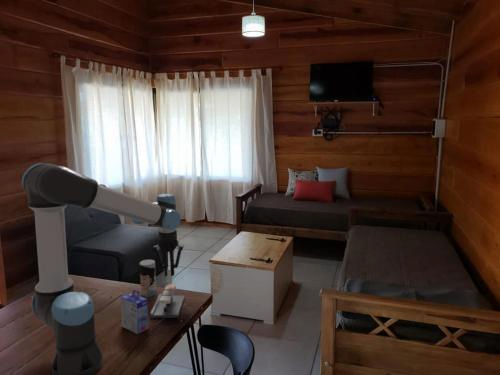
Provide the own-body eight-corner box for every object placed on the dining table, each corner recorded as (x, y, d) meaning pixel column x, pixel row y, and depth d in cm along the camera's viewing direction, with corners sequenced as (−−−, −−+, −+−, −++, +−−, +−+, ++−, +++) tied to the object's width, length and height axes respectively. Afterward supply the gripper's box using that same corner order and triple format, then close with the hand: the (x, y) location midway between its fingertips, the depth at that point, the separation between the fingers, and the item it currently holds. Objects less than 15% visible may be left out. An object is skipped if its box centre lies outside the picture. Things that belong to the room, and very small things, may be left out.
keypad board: (177, 317, 153) (177, 312, 153) (150, 317, 153) (150, 312, 152) (184, 298, 170) (184, 292, 169) (159, 298, 170) (159, 293, 169)
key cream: (169, 303, 154) (169, 300, 153) (159, 303, 153) (159, 300, 153) (171, 298, 157) (171, 295, 157) (161, 299, 157) (161, 295, 157)
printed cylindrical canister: (142, 290, 177) (140, 260, 174) (156, 289, 178) (155, 259, 176) (140, 297, 171) (138, 265, 168) (156, 296, 172) (154, 264, 169)
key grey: (171, 297, 158) (171, 294, 158) (162, 297, 158) (161, 294, 158) (173, 293, 162) (173, 290, 162) (164, 293, 162) (163, 290, 162)
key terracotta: (173, 292, 163) (173, 289, 163) (164, 292, 163) (164, 289, 163) (175, 288, 167) (175, 285, 167) (166, 288, 167) (166, 285, 167)
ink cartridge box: (149, 328, 145) (148, 293, 143) (138, 335, 141) (135, 298, 138) (133, 320, 151) (131, 286, 148) (121, 326, 147) (119, 291, 144)
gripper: (184, 227, 164) (186, 279, 169) (154, 228, 164) (156, 279, 168) (181, 232, 157) (183, 286, 161) (149, 233, 157) (152, 286, 161)
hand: (170, 282), depth 165 cm, fingers closed
